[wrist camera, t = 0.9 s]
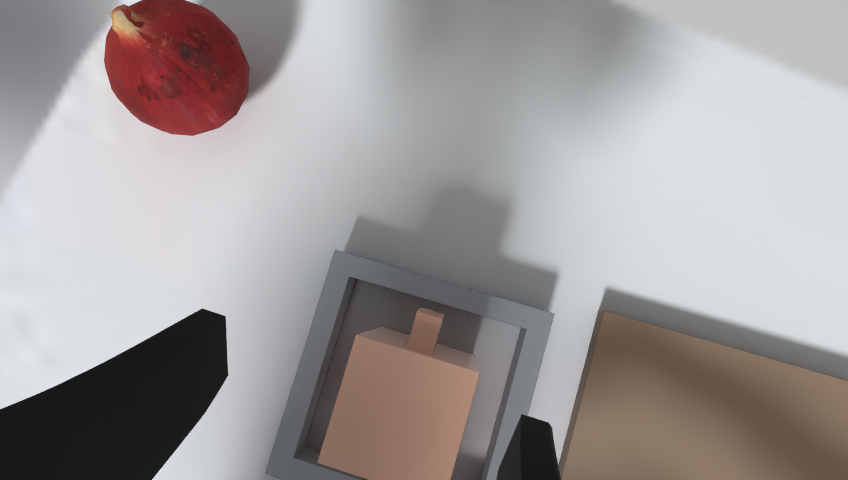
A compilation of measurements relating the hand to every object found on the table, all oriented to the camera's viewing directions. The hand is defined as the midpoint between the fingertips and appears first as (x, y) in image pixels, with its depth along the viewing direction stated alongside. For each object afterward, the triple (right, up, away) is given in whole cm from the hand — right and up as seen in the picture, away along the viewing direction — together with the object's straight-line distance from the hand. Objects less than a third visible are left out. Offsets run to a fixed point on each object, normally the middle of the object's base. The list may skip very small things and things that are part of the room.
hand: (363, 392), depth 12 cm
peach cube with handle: (+1, -3, +13) cm, 14 cm away
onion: (-9, +11, +16) cm, 21 cm away
